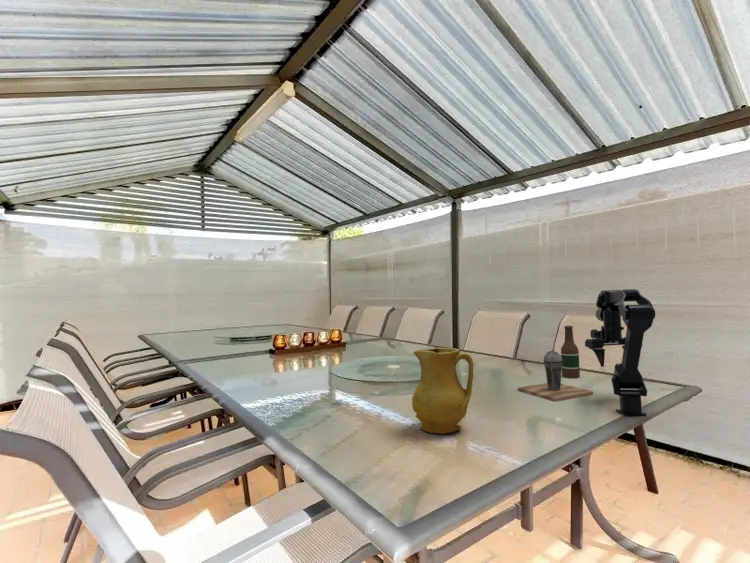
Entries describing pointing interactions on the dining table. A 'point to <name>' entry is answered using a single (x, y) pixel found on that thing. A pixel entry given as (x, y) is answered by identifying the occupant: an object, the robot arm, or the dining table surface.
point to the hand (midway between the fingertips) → (614, 366)
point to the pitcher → (441, 390)
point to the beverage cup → (553, 369)
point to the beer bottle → (570, 355)
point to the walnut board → (555, 392)
